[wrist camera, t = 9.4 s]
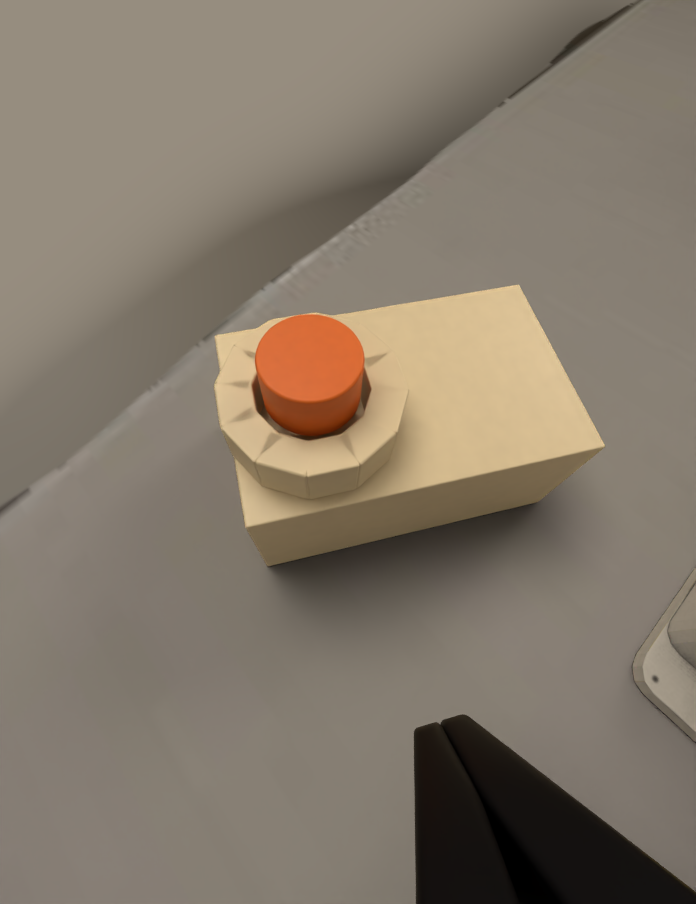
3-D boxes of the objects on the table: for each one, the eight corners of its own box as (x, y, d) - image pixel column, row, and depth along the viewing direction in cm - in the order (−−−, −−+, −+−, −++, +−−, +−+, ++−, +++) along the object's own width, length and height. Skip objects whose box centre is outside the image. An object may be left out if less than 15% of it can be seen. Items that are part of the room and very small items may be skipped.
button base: (538, 502, 22) (639, 419, 15) (266, 567, 20) (232, 508, 13) (478, 366, 25) (538, 245, 18) (239, 412, 24) (200, 297, 16)
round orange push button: (371, 425, 15) (377, 390, 13) (272, 446, 15) (264, 412, 13) (347, 347, 16) (349, 305, 14) (256, 363, 16) (246, 322, 14)
